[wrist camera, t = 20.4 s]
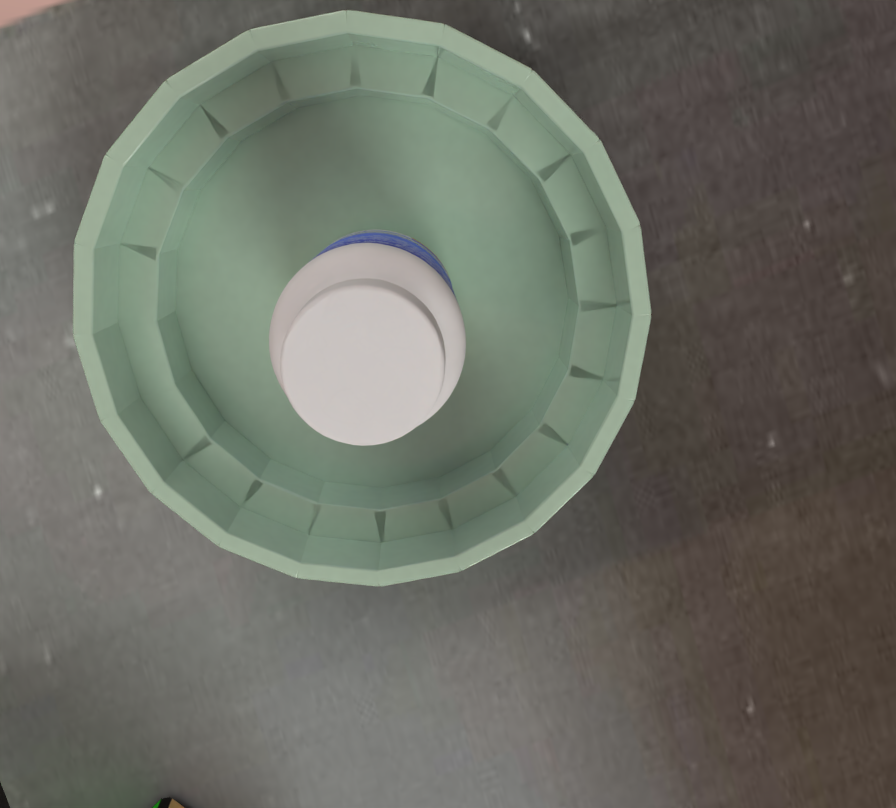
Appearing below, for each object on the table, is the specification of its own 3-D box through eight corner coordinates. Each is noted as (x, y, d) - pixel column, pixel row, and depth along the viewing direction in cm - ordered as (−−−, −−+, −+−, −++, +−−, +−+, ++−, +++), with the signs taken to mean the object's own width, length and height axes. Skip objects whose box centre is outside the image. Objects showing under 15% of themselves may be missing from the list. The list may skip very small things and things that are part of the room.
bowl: (574, -5, 27) (607, -44, 22) (640, 478, 32) (679, 531, 27) (67, 98, 27) (-9, 80, 23) (203, 560, 32) (164, 627, 27)
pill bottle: (285, 246, 28) (216, 279, 19) (438, 212, 28) (445, 229, 19) (323, 395, 30) (278, 494, 20) (470, 364, 30) (491, 449, 20)
